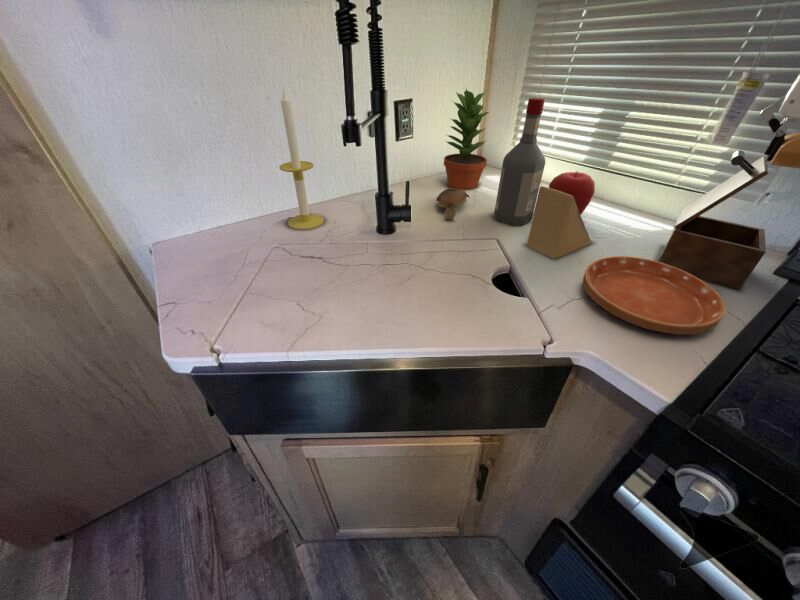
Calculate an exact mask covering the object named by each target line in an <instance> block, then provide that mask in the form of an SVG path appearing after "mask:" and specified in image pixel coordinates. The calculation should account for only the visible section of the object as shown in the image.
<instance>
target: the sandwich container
mask: <svg viewBox="0 0 800 600" xmlns="http://www.w3.org/2000/svg"><path fill="white" fill-rule="evenodd" d="M592 243H593V242H592V239H591V237H590V235H589V233H588V230H587V228H586V225H585V223H584V221H583V218H582V217H581V215H580V214H579V211H578V208H577V206H576V203H575V200H574V197H573V196H572V195H569V194H566V193H564V192H561V191H558V190H555V189H551V188H549V186H543V185H540V187H539V191H538V196H537V200H536V204H535V208H534V212H533V216H532V218H531V225H530V228H529V232H528V237H527V242H526V246H527V247H528V248H531V249H533V250H535V251H537V252H539V253H541V254H543V255H545V256H547V257H548V258H551V259H557V258H559V257H562V256H565V255H567V254H570V253H573V252H575V251H578V250H579V249H581V248H584V247H586V246H588V245H590V244H592Z"/></svg>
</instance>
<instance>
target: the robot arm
mask: <svg viewBox="0 0 800 600" xmlns="http://www.w3.org/2000/svg"><path fill="white" fill-rule="evenodd" d="M777 110H778V114H779V116H781V117H782V118H784V119H783V120H782V121H781V122H780V119H779V118H778V117H777V116H776V115H775V114H774V113H775V112H776V111H777ZM759 116H760V117H761V118H762V119H763V120H764V121H765V122H766V124H767V125H768V127H769V128H770V130H771V131H772V133H773V137H772V138H771V140H770V141H769V143H768V145H767V147H766V148H765V150H764V152H763V156H764V155H765V157H766V161H767V162H770V161H771V160H772V159H773V157H774V155H775V154H776V152H777V150H778V149H779V147H780V146H781V145H782V143H783V141H784V140H785V136H786V134H787V131H789V129H791V127H792V126H793V125H794V124H795V123H796V122H797V121H798V120H800V73H799V74H798V76H796V78H795V79H794V82H792V85H791V86H790V87H789V89H788V90H787V93H785V95H783V96H781V97H779V98H778V99H777V100H776V101H773V103H771V104H769V105H768V106H767V107H765V108H764V109H762V110H761V111H760V112H759Z"/></svg>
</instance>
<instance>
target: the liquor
mask: <svg viewBox="0 0 800 600" xmlns="http://www.w3.org/2000/svg"><path fill="white" fill-rule="evenodd" d="M545 101H546V99H545V98H541V97H539V98H538V97H531V98H528V101H527V106H526V111H525V120H524V125H523V128H522V129H523V130H522V134H521V137H520V139H519V142H518V143H517V144H516V145H515V146H513V147H512V149H510V151H508V152H507V153H506V154H505V156H504V158H503V160H502V164H501V170H500V176H499V183H498V189H497V195H496V200H495V206H494V212H493V215H494V217H495V219H496V221H497V222H500V223H503V224H507V225H509V226H513V227H514V226H515V227H516V226H517V227H518V226H520V227H521V226H523V225H525V224H526V223H528V222H530V221H532V219H533V215H534V211H535V206H536V202H537V197H538V193H539V189H540V186H541V183H542V179H543V178H542V177H543V174H544V170H545V167H546V157H545V155H544V153H543V152H542V150H541V148H540V147H539V145H538V144H537V143H538V139H537V137H538V131H539V127H540V121H541V117H542V116H541V115H542V114H543V110H544V106H545Z"/></svg>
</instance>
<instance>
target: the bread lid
mask: <svg viewBox="0 0 800 600" xmlns="http://www.w3.org/2000/svg"><path fill="white" fill-rule="evenodd" d="M745 155H746V154H745V151H744V150H736V151H735V152H733V153H732V155H731V159H730V164H731V165H732V166H736V167H737V166H739V167H740V168H741V170H739V172H737V173H735V174H734V175H732V176H730V177H729V178H728V179H726V180H724V181H723V182H722V183H720V184H718V185H717V186H715V187H713V188H711V189H710V190H709V191H707V192H706V193H704V194H703V195H701V196H700V197H698V198H696V199H695V200H694V201H692V202H690V203H689V204H687V205H686V206H684V207H683V208H681V210H680V212H679V215H678V217H677V219H676V221H675V224H674V226H673V229H674V228H675V229H679V228H680V227H682V226H683V225H685V224H687V223H688V222H690V221H692V220H693V219H695V218H697V217H698V216H701V215H703V214H705V213H707V212H708V211H710V210H711V209H713V208H715V207H717V206H718V205H720V204H722V203H723V202H725V201H727V200H728V199H729V198H731V197H733V196H734V195H736V194H738V193H739V192H741V191H743V190H744V189H746V188H749V186H751V185H753V184H755V182H758V181H759V180H761V179H762V178H764V177H766V176H768V175H769V167H768V161H766V155H765V156H764V155H763V156H761V157H760V158H759V159H757V160H755V161H754V162H752V163H751V162H749V160H748V159H746V158H745Z"/></svg>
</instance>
